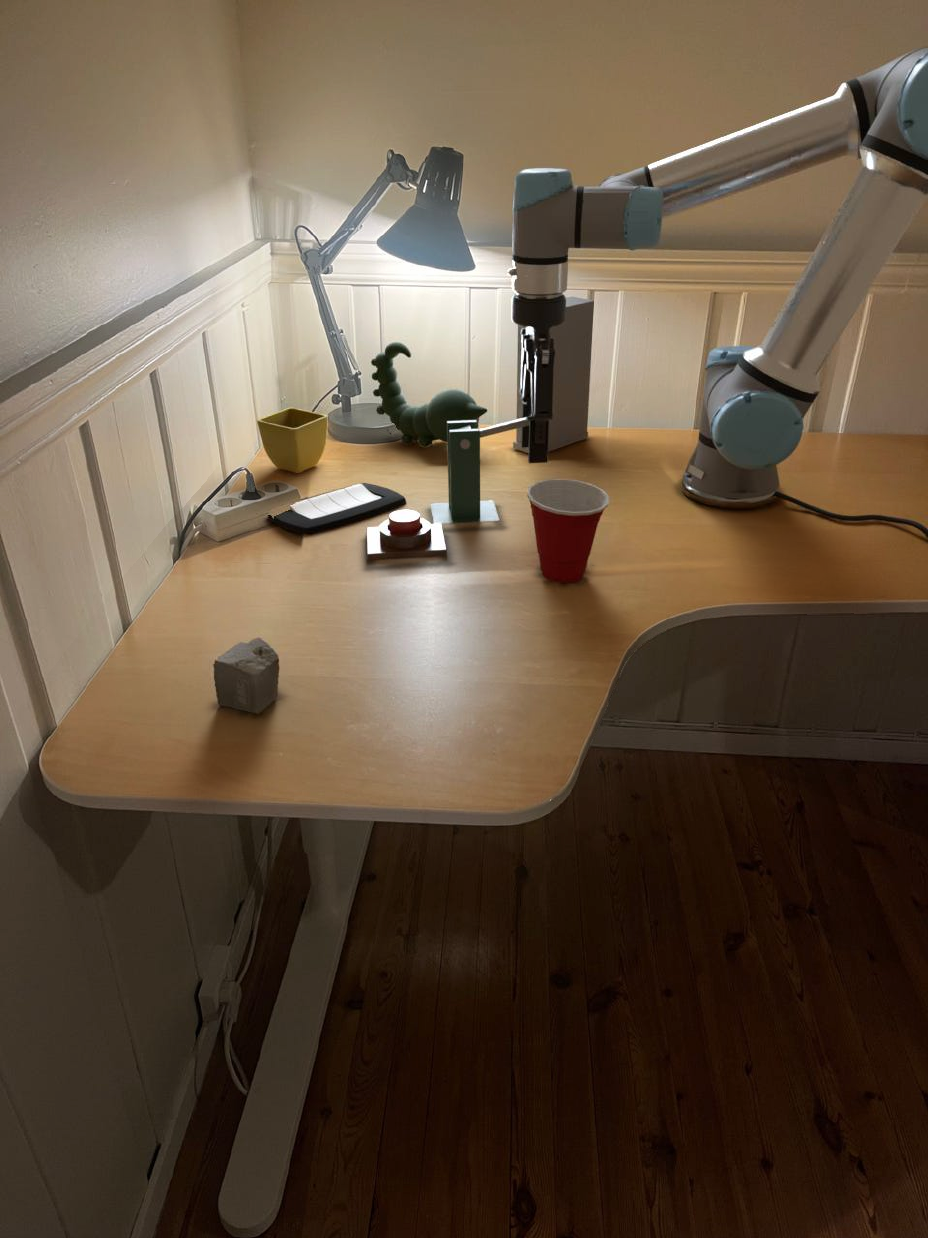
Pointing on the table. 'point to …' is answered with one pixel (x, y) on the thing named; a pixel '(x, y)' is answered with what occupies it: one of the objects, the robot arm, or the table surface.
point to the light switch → (338, 508)
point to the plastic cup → (565, 525)
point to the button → (404, 522)
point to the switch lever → (502, 426)
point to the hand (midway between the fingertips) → (534, 453)
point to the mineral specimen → (247, 676)
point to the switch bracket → (463, 479)
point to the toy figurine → (414, 419)
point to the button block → (405, 542)
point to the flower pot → (294, 438)
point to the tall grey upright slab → (566, 376)
